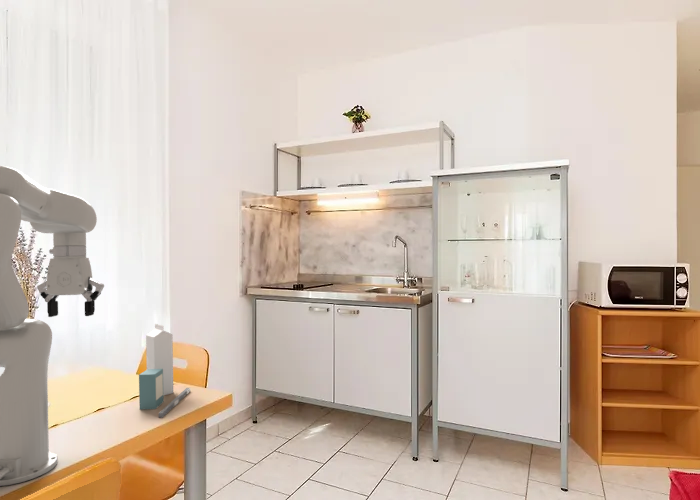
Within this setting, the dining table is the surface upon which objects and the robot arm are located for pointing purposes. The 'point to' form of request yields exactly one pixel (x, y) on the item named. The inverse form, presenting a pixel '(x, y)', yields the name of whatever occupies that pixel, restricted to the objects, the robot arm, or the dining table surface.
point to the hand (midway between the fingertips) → (71, 315)
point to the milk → (161, 355)
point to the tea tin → (151, 388)
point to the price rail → (173, 402)
